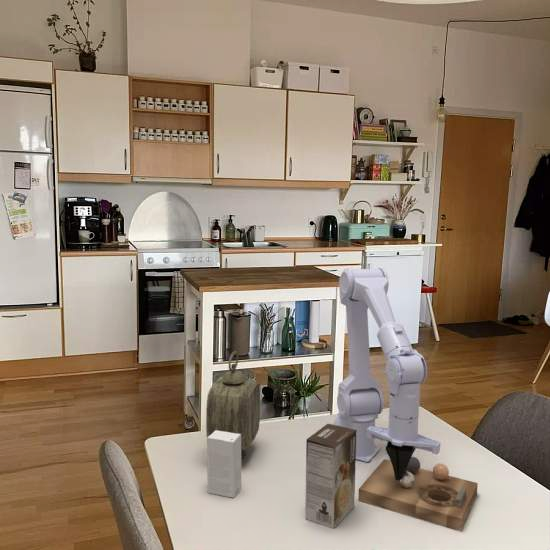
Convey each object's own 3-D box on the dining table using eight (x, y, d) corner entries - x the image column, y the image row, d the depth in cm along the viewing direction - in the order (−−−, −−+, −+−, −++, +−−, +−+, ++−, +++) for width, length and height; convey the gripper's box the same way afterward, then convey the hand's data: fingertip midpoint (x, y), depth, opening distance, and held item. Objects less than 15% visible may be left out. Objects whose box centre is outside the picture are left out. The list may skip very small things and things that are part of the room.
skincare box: (242, 488, 117) (242, 433, 115) (233, 498, 113) (234, 442, 111) (215, 483, 119) (215, 429, 117) (206, 493, 115) (206, 437, 113)
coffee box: (325, 497, 114) (328, 421, 111) (355, 507, 110) (357, 429, 108) (303, 519, 106) (305, 438, 104) (334, 530, 103) (337, 446, 100)
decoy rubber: (402, 472, 119) (402, 458, 119) (406, 466, 122) (407, 452, 121) (417, 476, 117) (417, 462, 117) (421, 470, 120) (422, 456, 120)
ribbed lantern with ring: (225, 441, 139) (225, 342, 135) (260, 444, 137) (261, 345, 134) (206, 468, 125) (205, 359, 121) (245, 472, 123) (246, 362, 120)
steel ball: (394, 476, 113) (408, 475, 111) (400, 468, 115) (414, 467, 113) (399, 491, 113) (413, 490, 111) (404, 483, 115) (419, 482, 113)
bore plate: (358, 500, 113) (359, 481, 112) (383, 469, 125) (384, 452, 125) (460, 531, 103) (462, 511, 102) (476, 494, 115) (478, 476, 115)
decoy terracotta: (430, 480, 116) (431, 465, 116) (434, 473, 119) (435, 459, 118) (446, 484, 114) (447, 469, 114) (450, 477, 117) (450, 463, 117)
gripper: (362, 412, 112) (359, 477, 114) (435, 428, 105) (431, 497, 106) (374, 402, 118) (372, 463, 120) (444, 416, 111) (440, 481, 112)
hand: (400, 478), depth 113 cm, fingers closed, pressing on steel ball
